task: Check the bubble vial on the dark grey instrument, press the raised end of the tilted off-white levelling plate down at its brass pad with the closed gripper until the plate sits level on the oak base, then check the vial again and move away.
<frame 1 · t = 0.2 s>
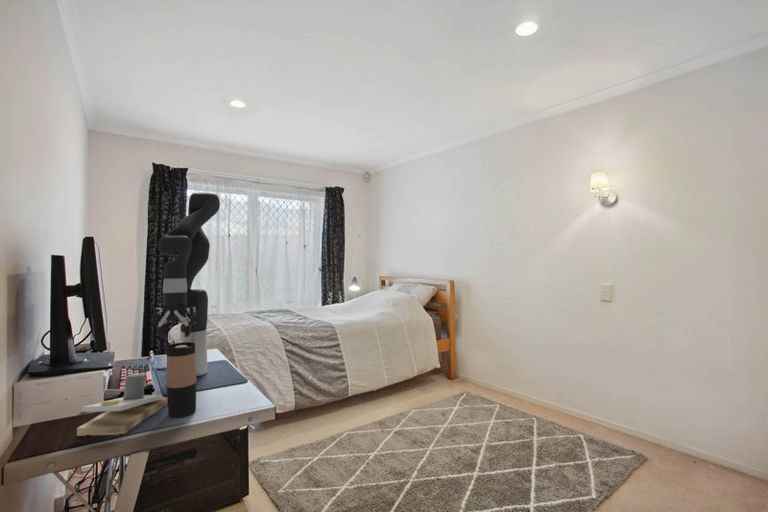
hand: (174, 336, 135), 18 cm above the table, tool pointing down, fingers open, 8 cm apart
caliper: (123, 399, 125), on the table
travel mug: (182, 413, 111), on the table
oak base: (126, 418, 108), on the table
levelling plate: (126, 390, 108), point 8 cm above the table, hinge at 12.0°
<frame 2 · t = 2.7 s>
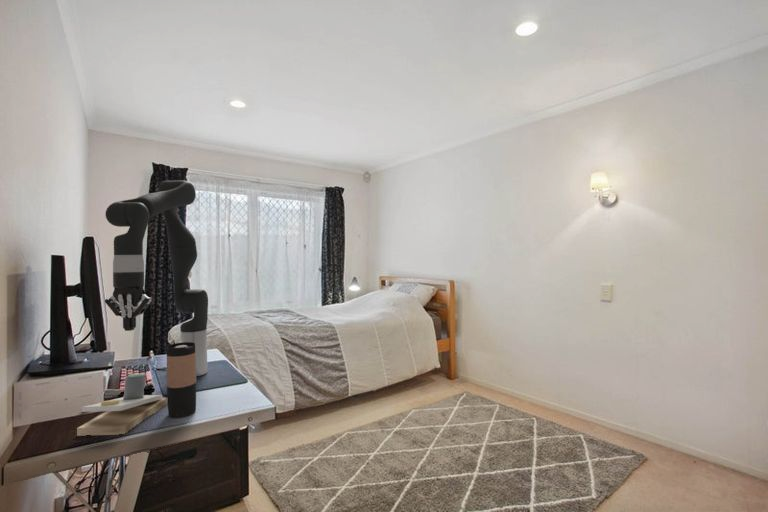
hand: (129, 330, 110), 25 cm above the table, tool pointing down, fingers closed
nothing on the table moved.
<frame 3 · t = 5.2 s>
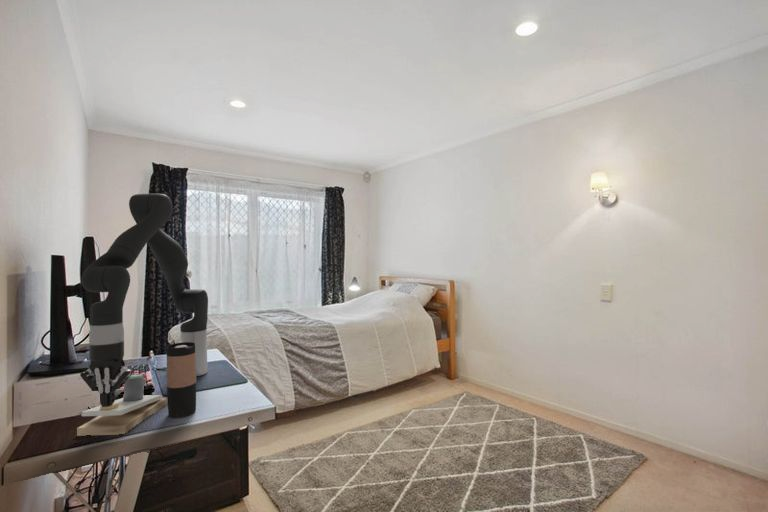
hand: (107, 406, 100), 7 cm above the table, tool pointing down, fingers closed
levelling plate: (126, 392, 108), point 7 cm above the table, hinge at 8.6°, touching gripper
everything else where it was.
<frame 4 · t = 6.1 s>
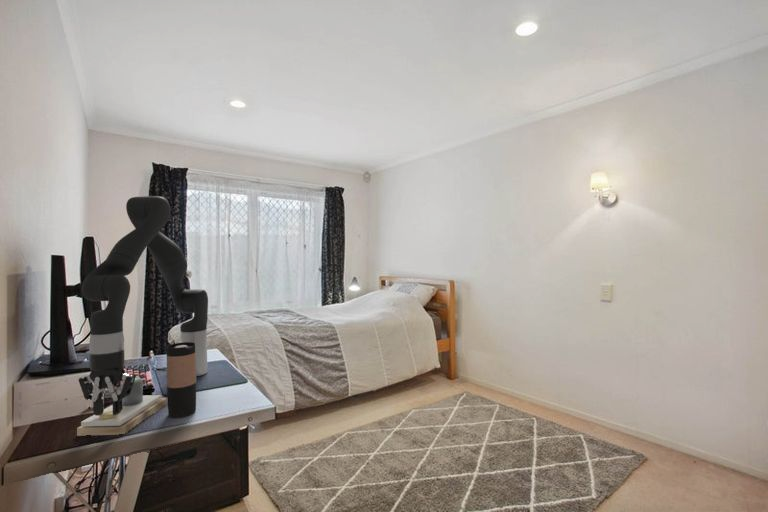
hand: (107, 413, 101), 4 cm above the table, tool pointing down, fingers open, 4 cm apart
levelling plate: (124, 397, 107), point 6 cm above the table, hinge at 0.8°, touching gripper
everything else where it was.
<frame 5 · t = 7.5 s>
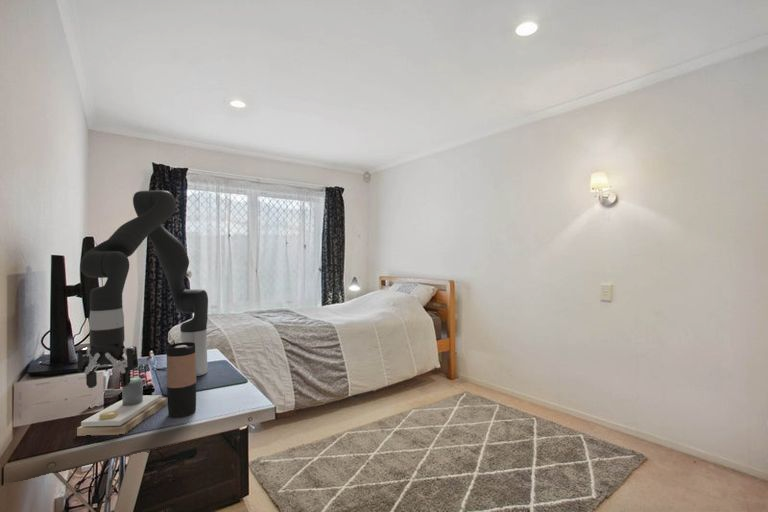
hand: (108, 386, 101), 12 cm above the table, tool pointing down, fingers open, 8 cm apart
levelling plate: (124, 397, 107), point 6 cm above the table, hinge at 0.8°
everything else where it was.
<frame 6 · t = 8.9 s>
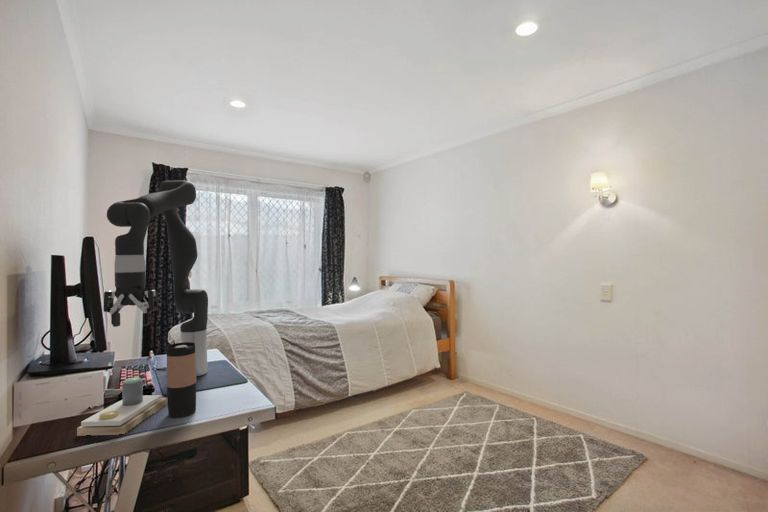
hand: (131, 325, 111), 26 cm above the table, tool pointing down, fingers open, 8 cm apart
nothing on the table moved.
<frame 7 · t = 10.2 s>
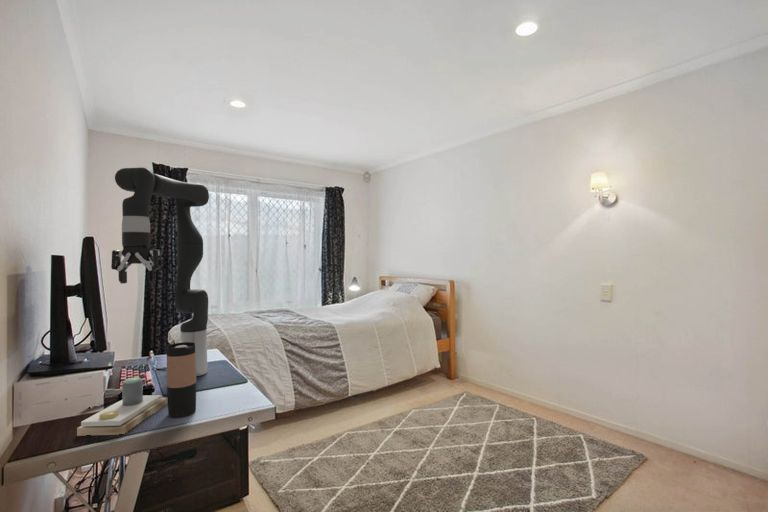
hand: (137, 283, 119), 38 cm above the table, tool pointing down, fingers open, 8 cm apart
nothing on the table moved.
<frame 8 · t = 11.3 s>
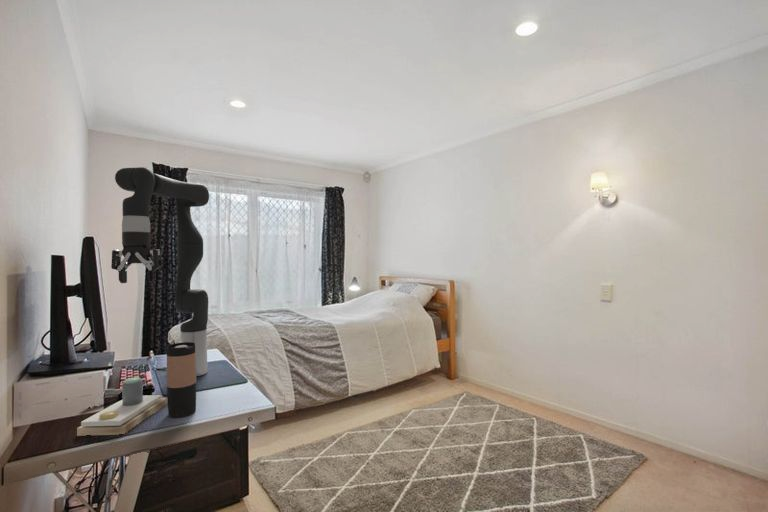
hand: (137, 282, 119), 38 cm above the table, tool pointing down, fingers open, 8 cm apart
nothing on the table moved.
at the end: levelling plate at +1° (first picture: +12°) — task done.
